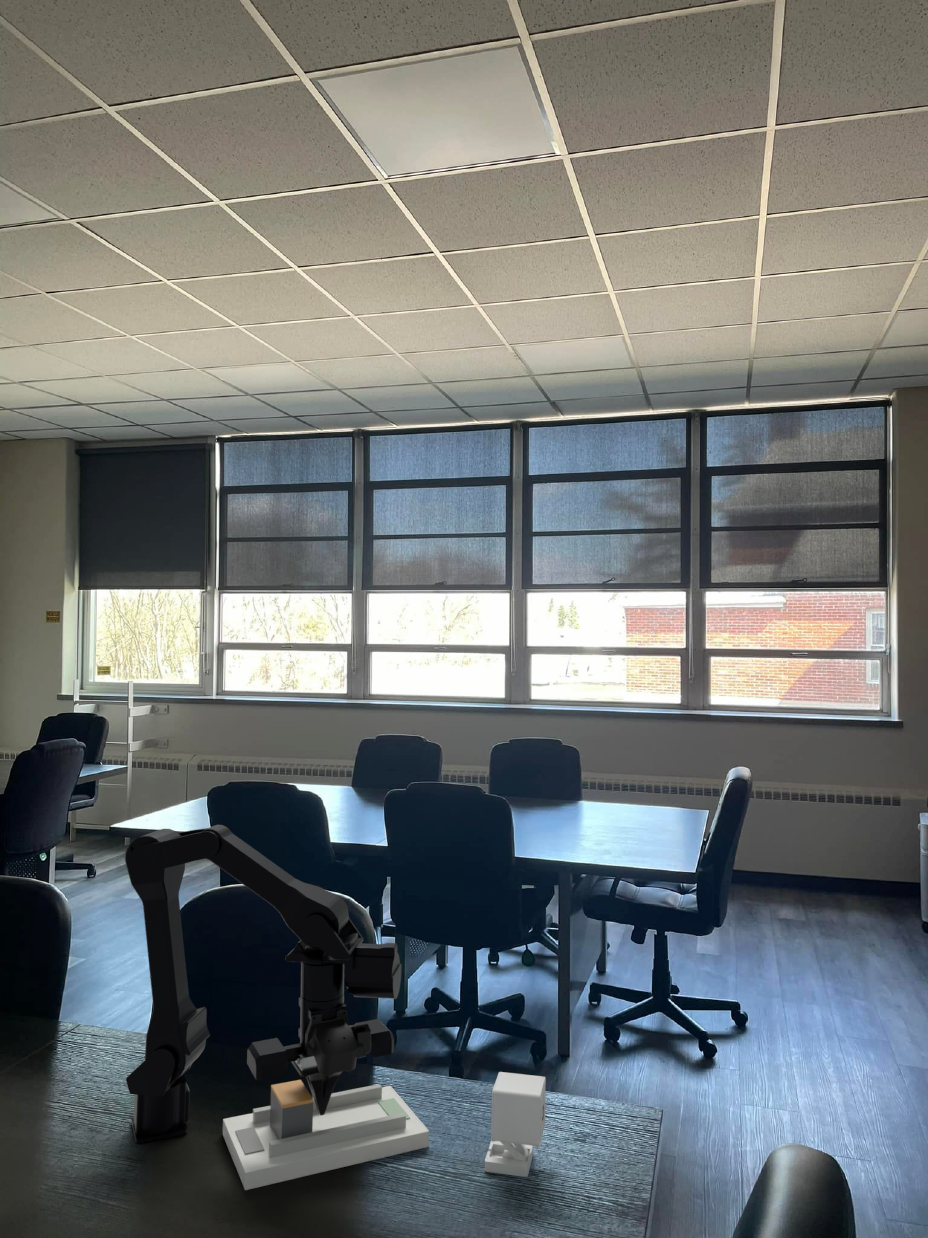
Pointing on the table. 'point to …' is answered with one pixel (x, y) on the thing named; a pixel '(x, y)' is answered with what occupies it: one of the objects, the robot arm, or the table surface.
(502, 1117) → the security camera
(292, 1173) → the white rail tray
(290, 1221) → the table surface
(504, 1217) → the table surface
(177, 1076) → the robot arm
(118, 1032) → the table surface
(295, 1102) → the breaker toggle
